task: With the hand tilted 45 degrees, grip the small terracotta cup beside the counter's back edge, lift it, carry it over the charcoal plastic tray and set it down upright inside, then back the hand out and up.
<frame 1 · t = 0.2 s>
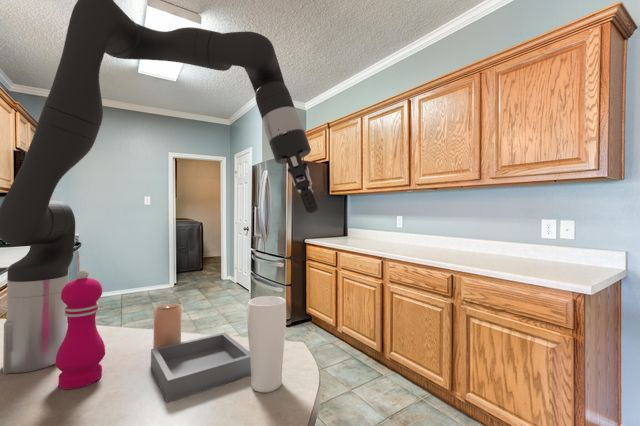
hand: (313, 211, 62), 31 cm above the countertop, tool tilted 20°, fingers open, 8 cm apart
drinking glass: (266, 386, 55), on the countertop
terracotta cup: (167, 353, 68), on the countertop
pepper mill: (80, 381, 57), on the countertop
charcoal tray: (201, 370, 60), on the countertop
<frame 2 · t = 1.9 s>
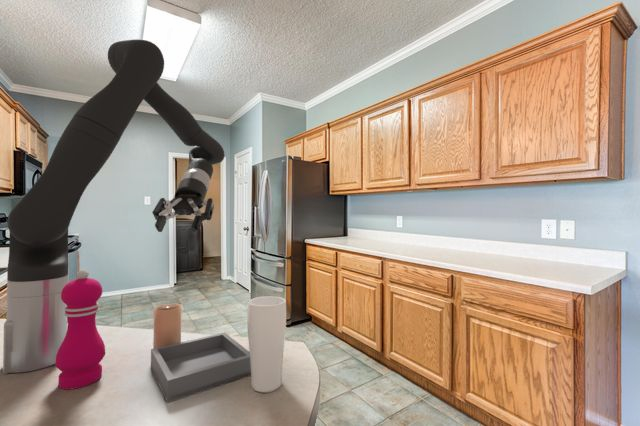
hand: (176, 229, 77), 27 cm above the countertop, tool tilted 45°, fingers open, 8 cm apart
nothing on the countertop moved.
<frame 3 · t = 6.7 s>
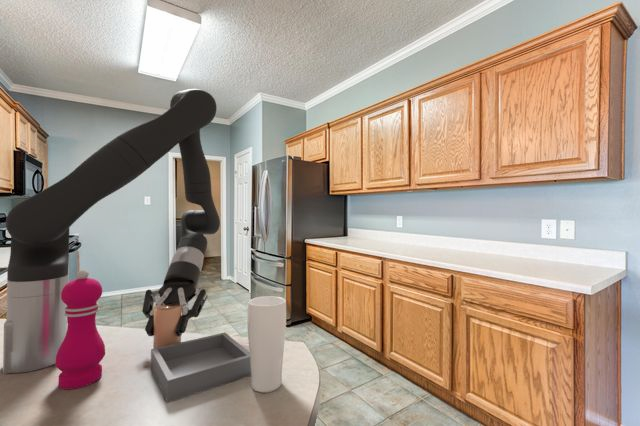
hand: (164, 334, 66), 5 cm above the countertop, tool tilted 45°, fingers closed on terracotta cup, 5 cm apart
terracotta cup: (167, 352, 68), on the countertop, touching gripper
everything else where it was.
when the fingers open (7 cm above the countertop, at t = 12.4 s): terracotta cup drops 1 cm, resting on charcoal tray.
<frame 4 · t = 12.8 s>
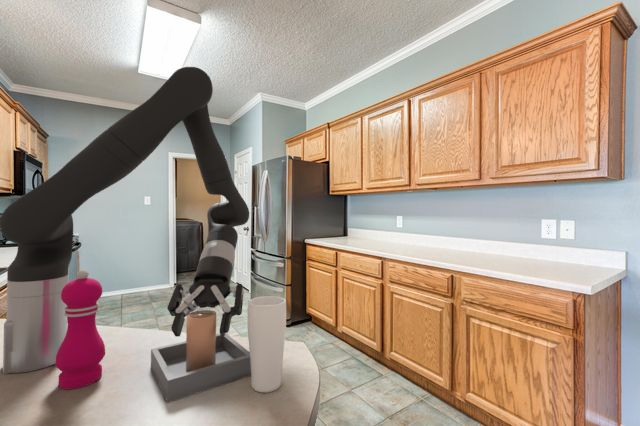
hand: (199, 334, 59), 7 cm above the countertop, tool tilted 45°, fingers open, 8 cm apart
terracotta cup: (200, 365, 60), point 1 cm above the countertop, touching charcoal tray
everything else where it was.
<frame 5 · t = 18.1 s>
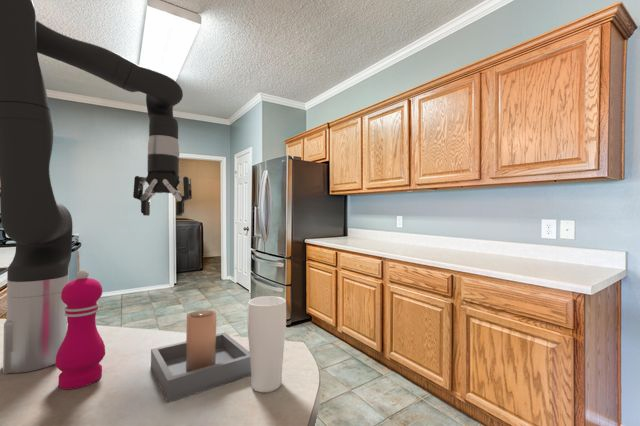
hand: (162, 215, 83), 30 cm above the countertop, tool pointing down, fingers open, 8 cm apart
nothing on the countertop moved.
at the end: terracotta cup inside the target area on the charcoal tray (0.2 cm from its centre), point 0.8 cm above the charcoal tray's base; terracotta cup tilted 0°; the gripper is holding nothing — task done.
